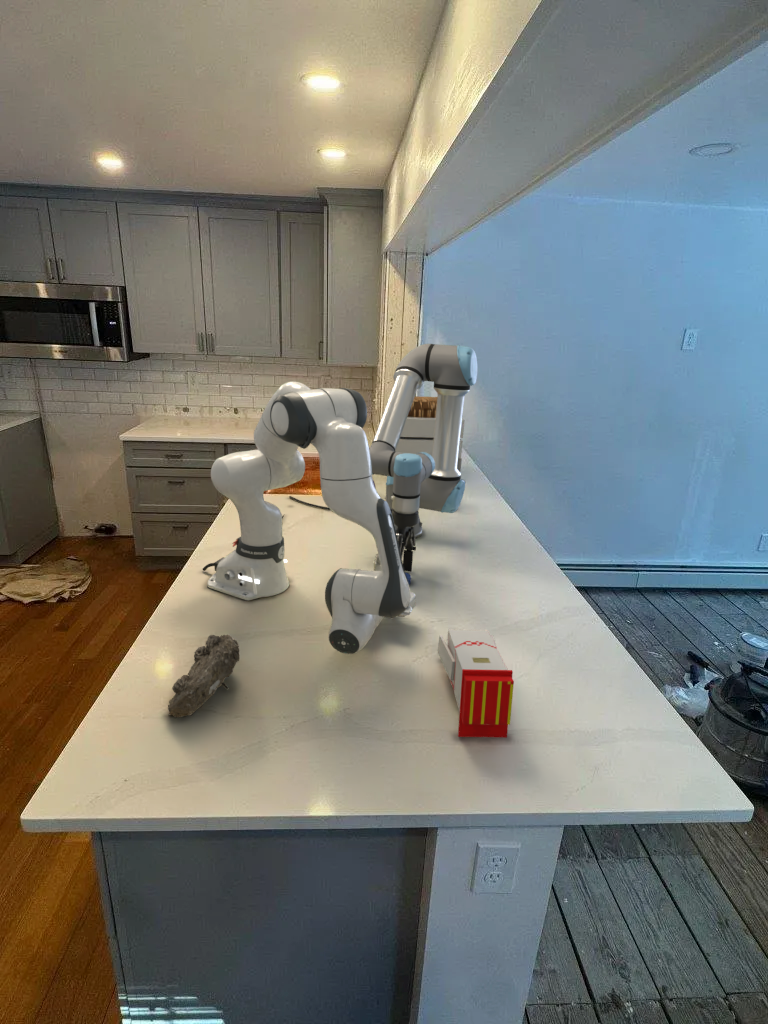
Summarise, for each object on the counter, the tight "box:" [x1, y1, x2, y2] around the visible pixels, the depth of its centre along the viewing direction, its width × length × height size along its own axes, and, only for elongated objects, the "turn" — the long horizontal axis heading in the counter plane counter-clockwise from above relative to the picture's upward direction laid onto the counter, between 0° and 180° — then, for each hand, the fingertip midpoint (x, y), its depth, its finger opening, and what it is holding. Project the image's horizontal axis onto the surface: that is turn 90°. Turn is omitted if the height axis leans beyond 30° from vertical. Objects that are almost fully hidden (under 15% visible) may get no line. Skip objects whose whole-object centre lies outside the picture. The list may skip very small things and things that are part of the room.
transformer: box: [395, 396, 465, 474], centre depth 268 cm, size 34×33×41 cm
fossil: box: [167, 634, 241, 718], centre depth 115 cm, size 22×10×15 cm
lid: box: [405, 571, 412, 585], centre depth 165 cm, size 6×6×2 cm
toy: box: [437, 628, 515, 738], centre depth 117 cm, size 12×13×30 cm
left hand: (383, 584), depth 149 cm, fingers closed on jar, 5 cm apart
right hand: (401, 579), depth 165 cm, fingers open, 12 cm apart
